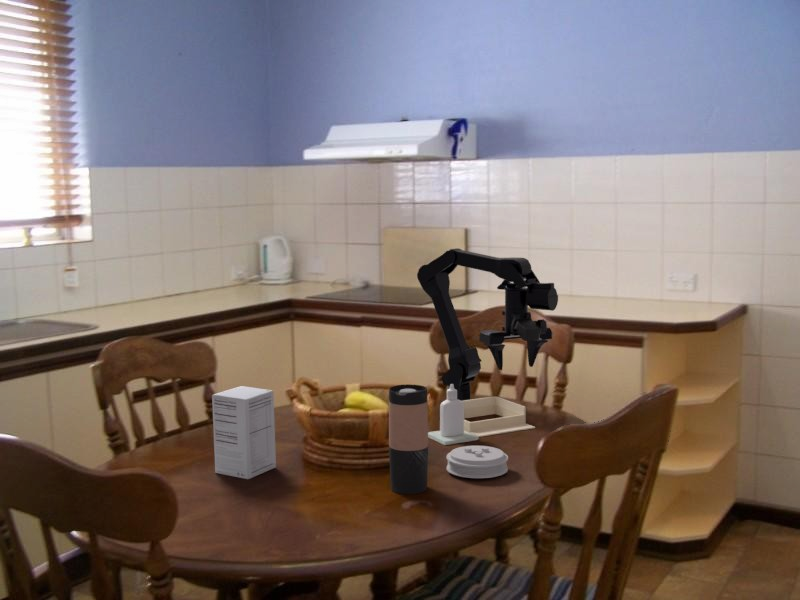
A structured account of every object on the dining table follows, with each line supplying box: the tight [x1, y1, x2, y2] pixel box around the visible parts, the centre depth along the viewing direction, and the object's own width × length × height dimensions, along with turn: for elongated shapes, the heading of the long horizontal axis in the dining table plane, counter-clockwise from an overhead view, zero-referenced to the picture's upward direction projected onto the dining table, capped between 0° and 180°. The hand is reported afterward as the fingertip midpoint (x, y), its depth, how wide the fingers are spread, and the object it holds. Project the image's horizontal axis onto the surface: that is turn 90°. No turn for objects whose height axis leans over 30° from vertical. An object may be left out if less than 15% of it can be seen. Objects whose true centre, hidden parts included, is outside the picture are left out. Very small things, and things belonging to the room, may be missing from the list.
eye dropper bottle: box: [439, 384, 465, 437], centre depth 222 cm, size 4×6×12 cm
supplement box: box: [211, 385, 277, 480], centre depth 198 cm, size 10×9×17 cm
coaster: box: [428, 430, 479, 446], centre depth 223 cm, size 9×9×1 cm
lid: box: [446, 445, 509, 479], centre depth 196 cm, size 13×13×5 cm
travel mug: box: [388, 384, 429, 495], centre depth 185 cm, size 8×8×20 cm
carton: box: [462, 395, 536, 438], centre depth 234 cm, size 17×16×4 cm
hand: (515, 368), depth 243 cm, fingers open, 9 cm apart
